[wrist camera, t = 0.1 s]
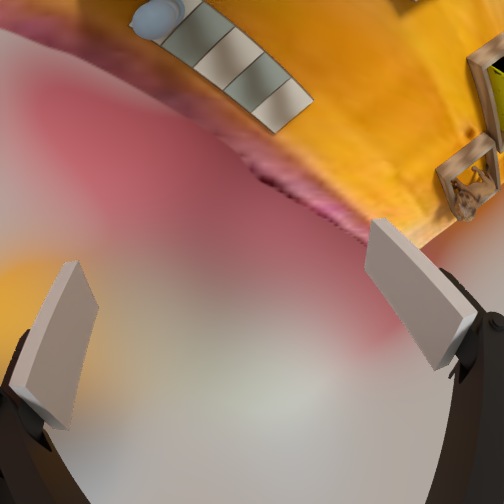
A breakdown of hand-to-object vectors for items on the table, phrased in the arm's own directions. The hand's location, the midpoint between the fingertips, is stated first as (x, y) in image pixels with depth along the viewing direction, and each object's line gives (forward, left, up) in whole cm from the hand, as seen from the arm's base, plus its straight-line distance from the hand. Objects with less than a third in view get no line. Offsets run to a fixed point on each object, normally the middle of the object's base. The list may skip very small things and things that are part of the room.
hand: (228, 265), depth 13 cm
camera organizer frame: (-38, +34, -28) cm, 58 cm away
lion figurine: (-23, +49, -28) cm, 61 cm away
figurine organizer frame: (-24, +49, -28) cm, 61 cm away
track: (-3, +1, -28) cm, 28 cm away
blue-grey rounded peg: (-3, -8, -26) cm, 28 cm away
